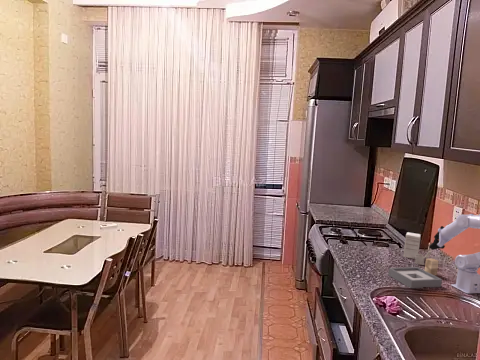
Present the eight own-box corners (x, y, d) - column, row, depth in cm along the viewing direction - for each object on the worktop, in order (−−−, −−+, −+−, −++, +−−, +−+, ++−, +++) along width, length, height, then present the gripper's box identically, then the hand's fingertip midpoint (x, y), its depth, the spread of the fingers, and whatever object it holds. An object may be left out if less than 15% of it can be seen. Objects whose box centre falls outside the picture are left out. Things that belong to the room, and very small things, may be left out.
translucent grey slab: (415, 263, 219) (417, 248, 218) (414, 262, 221) (416, 248, 220) (429, 266, 216) (431, 251, 215) (429, 265, 218) (431, 250, 217)
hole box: (441, 286, 187) (442, 279, 186) (410, 288, 182) (411, 280, 182) (416, 274, 202) (417, 267, 202) (388, 275, 198) (389, 267, 197)
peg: (436, 275, 203) (438, 261, 202) (430, 275, 202) (431, 261, 201) (430, 272, 207) (432, 258, 206) (424, 272, 206) (426, 258, 205)
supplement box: (404, 253, 237) (407, 231, 235) (418, 256, 233) (421, 234, 232) (402, 256, 230) (405, 234, 228) (417, 259, 227) (420, 236, 225)
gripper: (449, 215, 199) (431, 228, 210) (440, 234, 190) (421, 247, 201) (462, 225, 198) (442, 238, 208) (453, 244, 189) (433, 256, 200)
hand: (433, 243), depth 205 cm, fingers open, 7 cm apart
